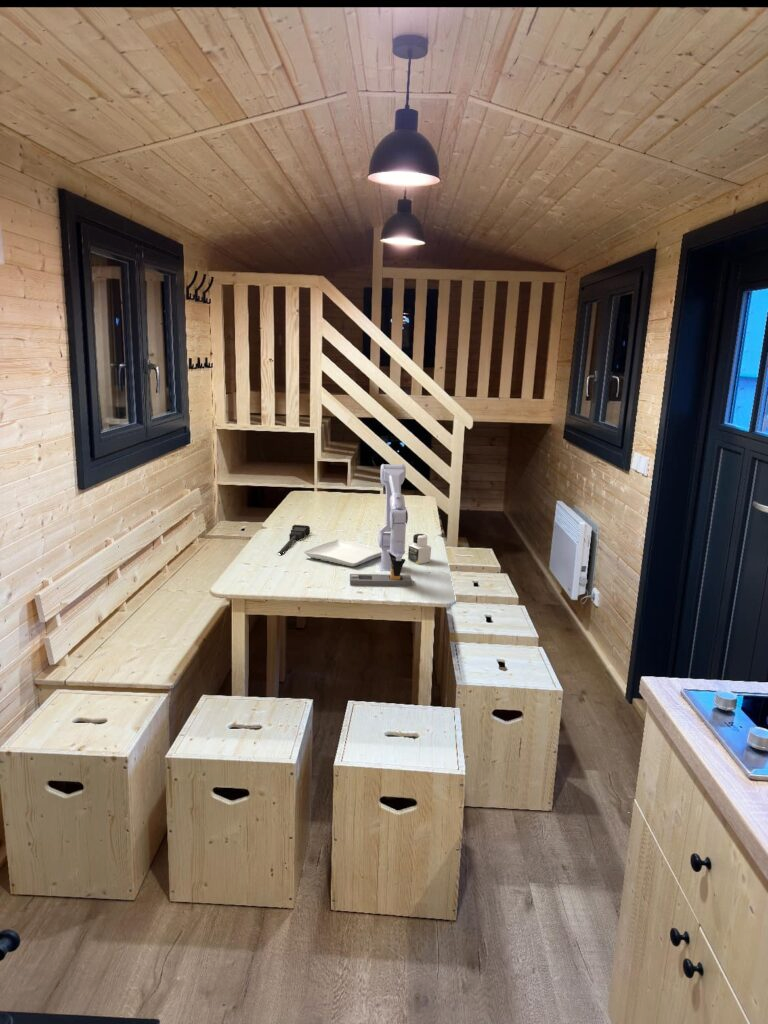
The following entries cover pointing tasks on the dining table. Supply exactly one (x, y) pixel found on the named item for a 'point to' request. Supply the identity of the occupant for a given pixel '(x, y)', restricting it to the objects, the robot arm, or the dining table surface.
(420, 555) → the medicine bottle
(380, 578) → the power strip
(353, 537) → the dining table surface
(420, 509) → the dining table surface
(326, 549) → the square plate
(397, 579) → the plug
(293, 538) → the electrical plug
